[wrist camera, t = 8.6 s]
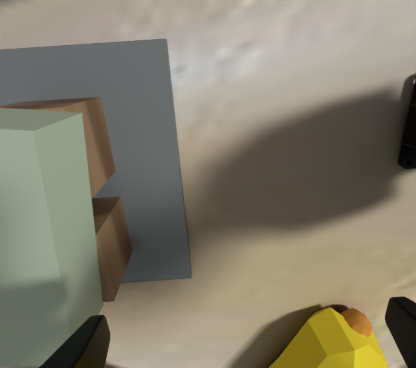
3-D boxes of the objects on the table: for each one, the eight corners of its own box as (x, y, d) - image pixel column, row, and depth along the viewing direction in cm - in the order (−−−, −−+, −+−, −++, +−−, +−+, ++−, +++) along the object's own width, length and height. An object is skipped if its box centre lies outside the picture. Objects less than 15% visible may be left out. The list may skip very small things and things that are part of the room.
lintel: (82, 112, 13) (33, 130, 9) (103, 304, 18) (76, 367, 14) (-29, 105, 13) (-124, 121, 9) (22, 301, 17) (-26, 364, 14)
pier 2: (120, 196, 20) (96, 234, 15) (132, 252, 22) (113, 301, 17) (53, 200, 20) (8, 240, 16) (70, 256, 22) (35, 305, 17)
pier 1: (100, 96, 17) (63, 107, 13) (115, 170, 19) (88, 203, 15) (21, 102, 17) (-44, 114, 13) (45, 175, 19) (-5, 208, 15)
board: (166, 39, 17) (165, 38, 16) (191, 273, 24) (191, 278, 23) (-62, 54, 17) (-71, 54, 16) (30, 283, 24) (26, 288, 23)
